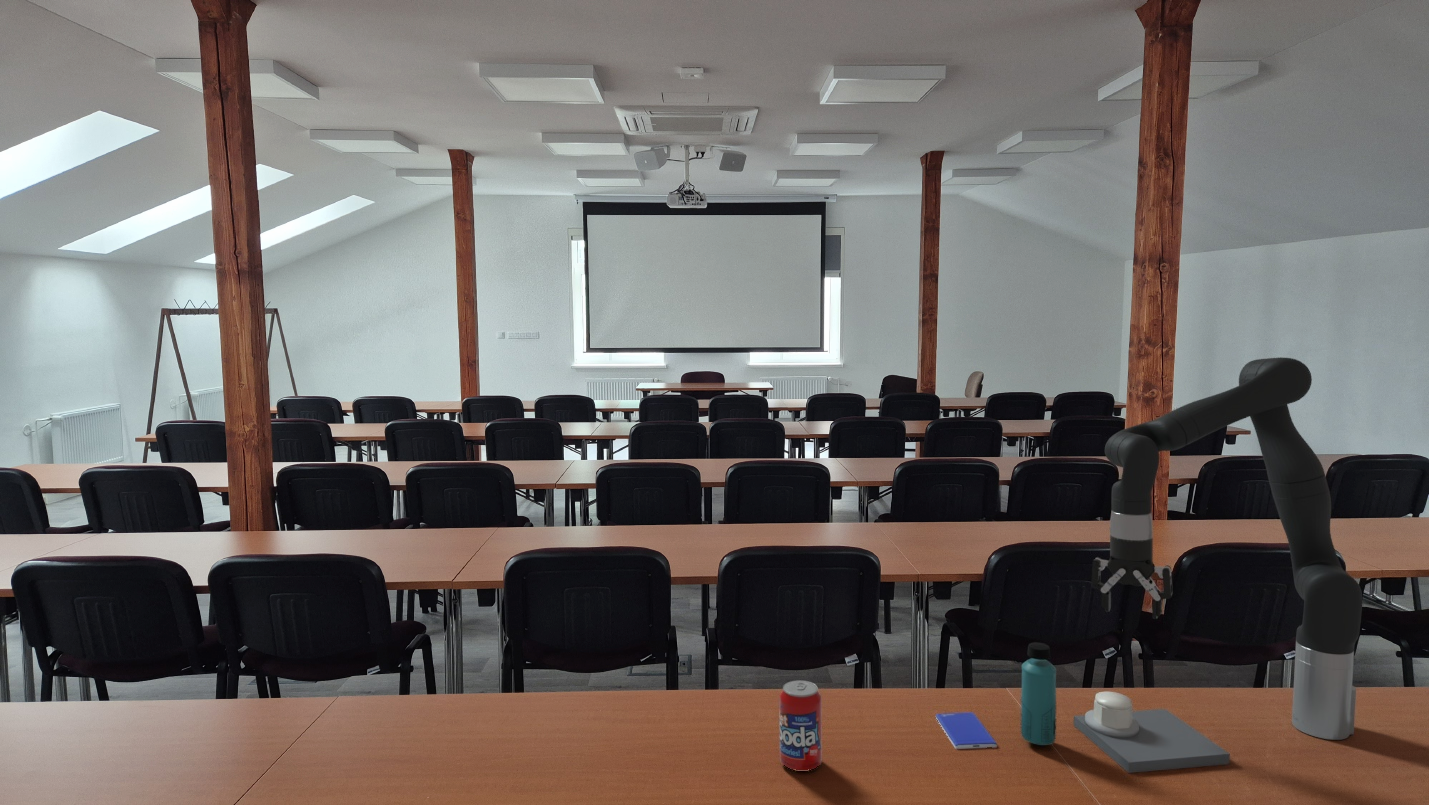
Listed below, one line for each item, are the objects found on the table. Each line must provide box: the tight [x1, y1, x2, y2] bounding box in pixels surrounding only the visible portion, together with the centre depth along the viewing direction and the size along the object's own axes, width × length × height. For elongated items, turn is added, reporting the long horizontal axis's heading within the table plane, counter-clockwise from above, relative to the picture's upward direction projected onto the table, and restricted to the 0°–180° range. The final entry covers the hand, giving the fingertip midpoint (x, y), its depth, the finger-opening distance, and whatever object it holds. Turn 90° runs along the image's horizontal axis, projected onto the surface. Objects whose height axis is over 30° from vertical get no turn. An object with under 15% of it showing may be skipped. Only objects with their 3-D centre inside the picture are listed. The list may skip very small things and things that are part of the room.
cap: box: [1093, 691, 1134, 729], centre depth 162 cm, size 6×6×4 cm
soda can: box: [778, 679, 823, 770], centre depth 153 cm, size 8×8×15 cm
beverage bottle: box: [1020, 642, 1058, 746], centre depth 159 cm, size 6×7×20 cm
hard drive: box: [934, 711, 998, 750], centre depth 165 cm, size 2×8×12 cm
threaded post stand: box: [1073, 708, 1231, 774], centre depth 159 cm, size 20×18×6 cm
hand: (1131, 613), depth 163 cm, fingers open, 8 cm apart
